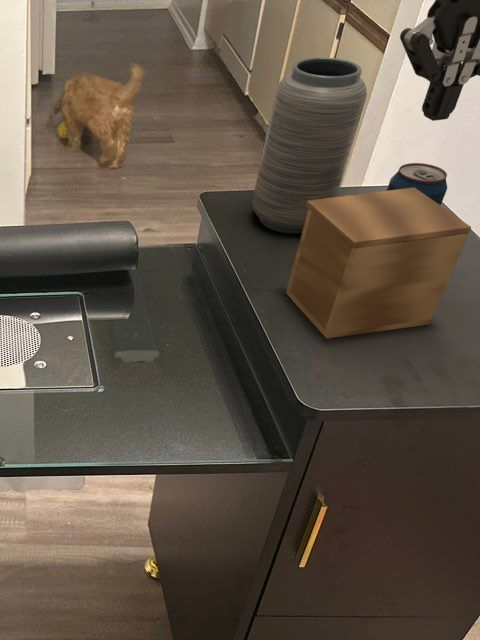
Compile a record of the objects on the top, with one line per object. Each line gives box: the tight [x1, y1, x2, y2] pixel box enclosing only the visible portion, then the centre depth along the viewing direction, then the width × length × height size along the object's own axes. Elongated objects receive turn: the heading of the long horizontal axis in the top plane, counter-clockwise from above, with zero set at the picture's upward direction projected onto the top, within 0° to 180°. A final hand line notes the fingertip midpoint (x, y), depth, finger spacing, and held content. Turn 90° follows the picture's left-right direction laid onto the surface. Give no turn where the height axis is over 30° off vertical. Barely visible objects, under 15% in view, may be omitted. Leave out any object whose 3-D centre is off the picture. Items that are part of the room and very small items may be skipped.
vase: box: [251, 57, 368, 235], centre depth 105 cm, size 12×12×23 cm
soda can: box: [386, 162, 448, 206], centre depth 101 cm, size 7×7×12 cm
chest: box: [285, 210, 469, 340], centre depth 90 cm, size 14×11×13 cm
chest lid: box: [306, 187, 472, 248], centre depth 86 cm, size 14×11×1 cm
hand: (434, 117), depth 79 cm, fingers closed
